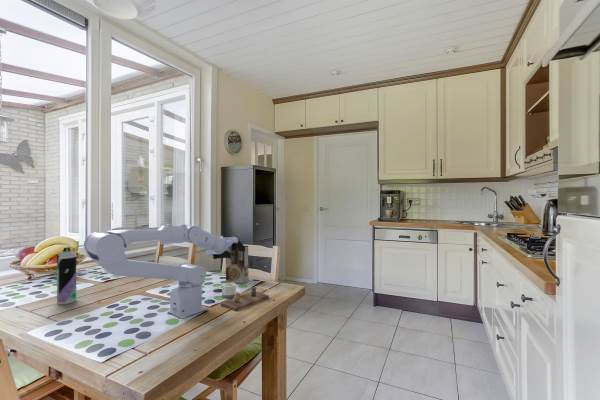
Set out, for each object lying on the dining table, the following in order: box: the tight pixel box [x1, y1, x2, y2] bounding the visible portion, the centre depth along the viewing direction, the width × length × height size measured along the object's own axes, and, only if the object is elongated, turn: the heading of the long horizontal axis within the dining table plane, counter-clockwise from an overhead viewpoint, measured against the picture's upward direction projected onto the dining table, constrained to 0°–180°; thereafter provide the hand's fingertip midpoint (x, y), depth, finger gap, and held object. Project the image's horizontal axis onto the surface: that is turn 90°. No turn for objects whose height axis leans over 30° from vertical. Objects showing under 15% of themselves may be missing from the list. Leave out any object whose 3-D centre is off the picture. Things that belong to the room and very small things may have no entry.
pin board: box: [220, 286, 270, 312], centre depth 102 cm, size 16×8×4 cm, turn 143°
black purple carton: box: [56, 247, 77, 305], centre depth 102 cm, size 6×6×20 cm
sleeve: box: [221, 282, 237, 300], centre depth 108 cm, size 5×5×4 cm
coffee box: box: [225, 245, 249, 284], centre depth 128 cm, size 9×6×16 cm
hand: (237, 252), depth 111 cm, fingers open, 7 cm apart
